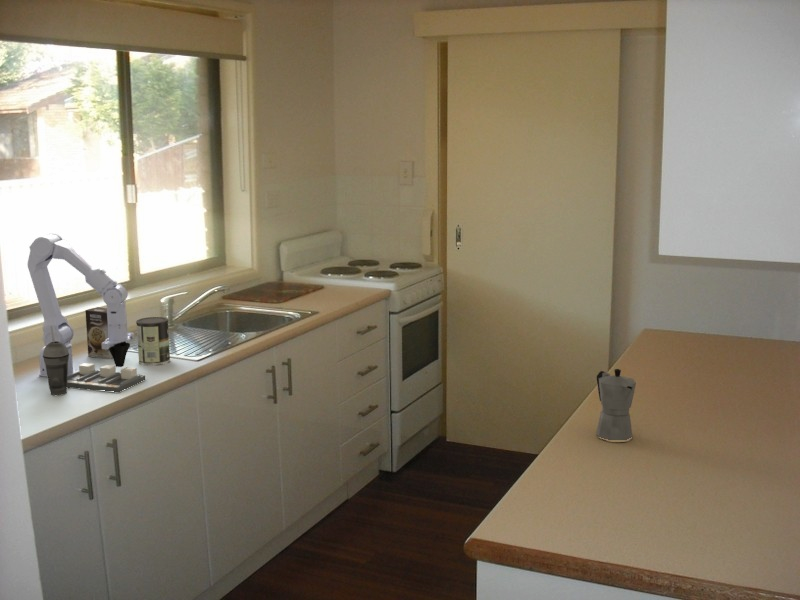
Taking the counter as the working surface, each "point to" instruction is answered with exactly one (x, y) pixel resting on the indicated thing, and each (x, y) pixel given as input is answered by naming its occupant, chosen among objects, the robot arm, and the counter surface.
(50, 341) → the robot arm
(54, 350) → the beverage cup
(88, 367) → the tab left
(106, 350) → the coffee box
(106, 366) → the tab middle
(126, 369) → the tab right
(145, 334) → the coffee can
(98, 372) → the switch panel
